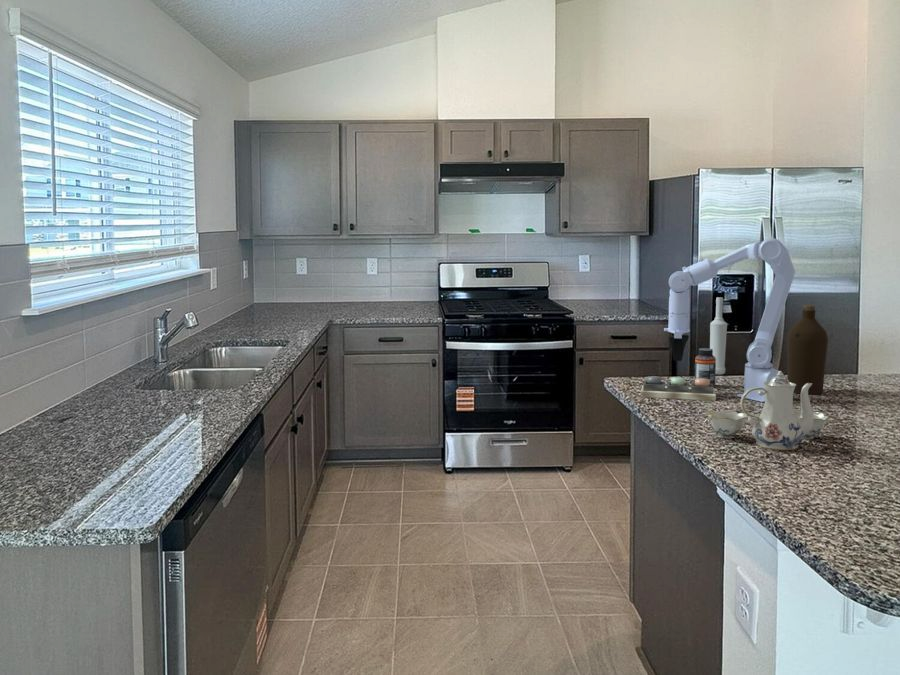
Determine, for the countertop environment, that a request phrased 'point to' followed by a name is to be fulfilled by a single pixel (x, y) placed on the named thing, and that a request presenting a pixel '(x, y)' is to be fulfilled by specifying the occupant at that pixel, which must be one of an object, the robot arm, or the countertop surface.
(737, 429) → the chinaware
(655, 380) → the button charcoal
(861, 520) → the countertop surface
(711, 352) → the supplement bottle
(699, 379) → the button terracotta
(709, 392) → the panel
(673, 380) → the button sage
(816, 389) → the olive oil
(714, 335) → the bottle
